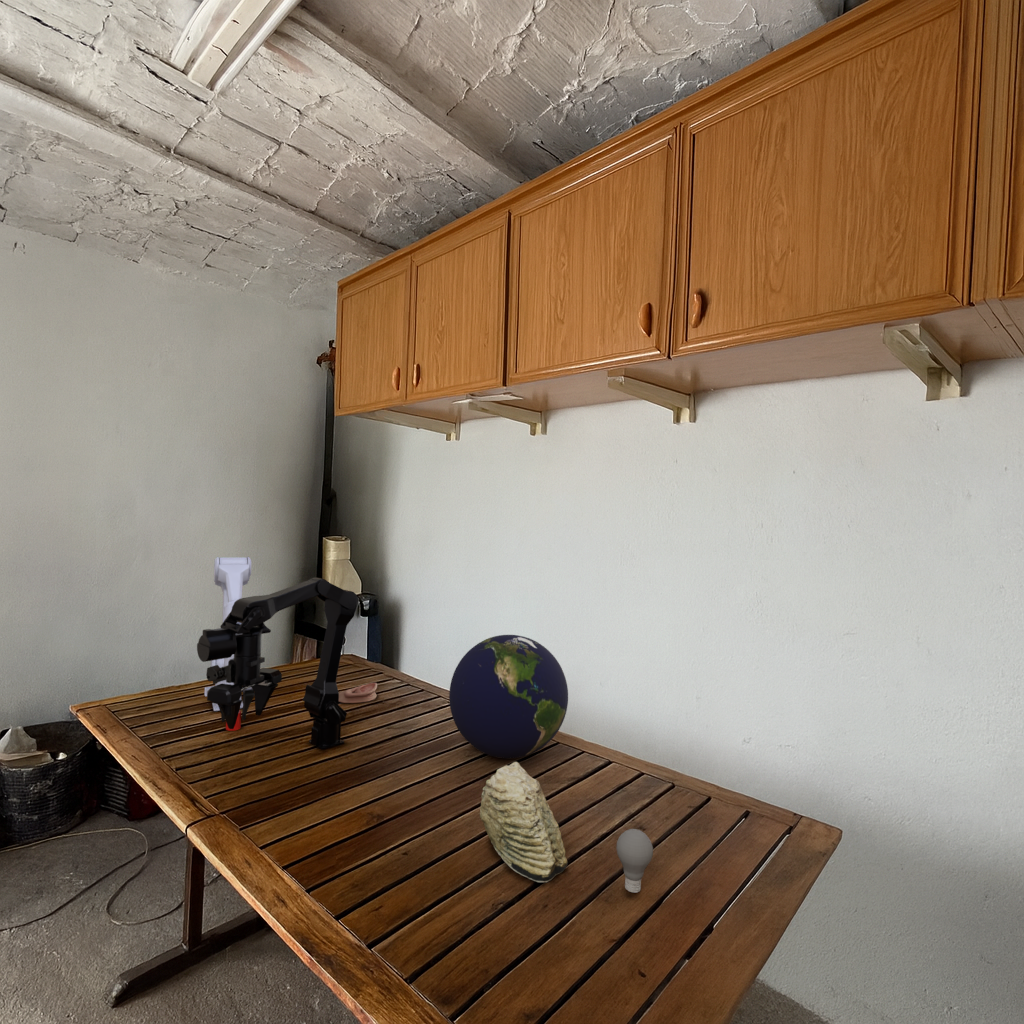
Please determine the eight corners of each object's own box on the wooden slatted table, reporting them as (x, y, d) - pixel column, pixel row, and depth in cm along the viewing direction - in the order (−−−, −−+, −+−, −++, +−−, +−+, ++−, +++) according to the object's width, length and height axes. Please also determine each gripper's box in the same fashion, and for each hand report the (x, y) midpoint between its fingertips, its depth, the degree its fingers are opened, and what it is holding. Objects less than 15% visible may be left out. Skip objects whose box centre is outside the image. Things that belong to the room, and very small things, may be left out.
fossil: (501, 827, 124) (504, 751, 124) (575, 868, 111) (578, 784, 111) (467, 843, 118) (470, 763, 118) (541, 889, 105) (545, 799, 105)
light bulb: (610, 879, 108) (613, 822, 108) (644, 879, 109) (647, 822, 109) (619, 902, 102) (622, 840, 102) (655, 901, 103) (658, 840, 103)
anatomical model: (326, 688, 195) (343, 678, 206) (325, 700, 195) (343, 690, 206) (366, 692, 192) (381, 682, 203) (365, 705, 192) (381, 694, 203)
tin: (228, 725, 172) (229, 709, 172) (242, 726, 172) (243, 710, 172) (223, 730, 168) (224, 714, 168) (237, 730, 168) (238, 714, 168)
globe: (495, 724, 181) (499, 619, 180) (587, 752, 163) (592, 636, 163) (421, 755, 157) (426, 635, 156) (520, 792, 139) (526, 657, 139)
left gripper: (206, 675, 163) (204, 728, 163) (266, 670, 170) (264, 721, 170) (204, 668, 169) (203, 719, 169) (262, 664, 176) (261, 712, 176)
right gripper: (244, 642, 156) (242, 705, 156) (187, 659, 138) (184, 731, 138) (284, 646, 153) (281, 711, 153) (230, 665, 135) (228, 738, 135)
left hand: (233, 719), depth 170 cm, fingers open, 4 cm apart
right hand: (245, 721), depth 145 cm, fingers open, 9 cm apart
